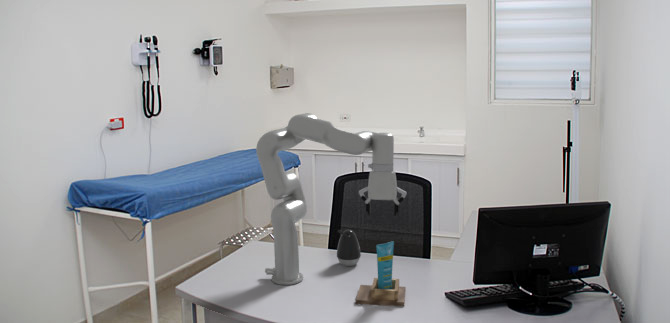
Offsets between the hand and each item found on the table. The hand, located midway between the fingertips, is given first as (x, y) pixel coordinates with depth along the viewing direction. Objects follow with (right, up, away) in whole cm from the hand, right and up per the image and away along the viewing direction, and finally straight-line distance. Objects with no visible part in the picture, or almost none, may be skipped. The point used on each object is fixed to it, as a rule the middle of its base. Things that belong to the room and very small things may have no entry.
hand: (382, 214), depth 201 cm
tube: (+1, -29, +2) cm, 29 cm away
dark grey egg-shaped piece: (-11, -25, +37) cm, 46 cm away
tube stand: (0, -31, +2) cm, 31 cm away
